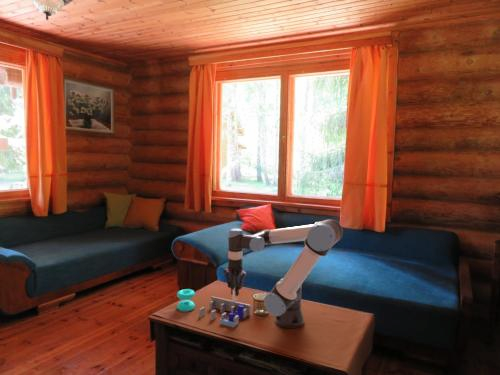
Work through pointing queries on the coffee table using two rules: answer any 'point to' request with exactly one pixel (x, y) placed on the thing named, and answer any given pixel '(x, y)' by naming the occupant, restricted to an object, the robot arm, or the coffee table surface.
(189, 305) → the donuts
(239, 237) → the robot arm
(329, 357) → the coffee table surface
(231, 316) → the blue curved block
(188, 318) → the coffee table surface
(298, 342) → the coffee table surface
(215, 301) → the grey peg rack
